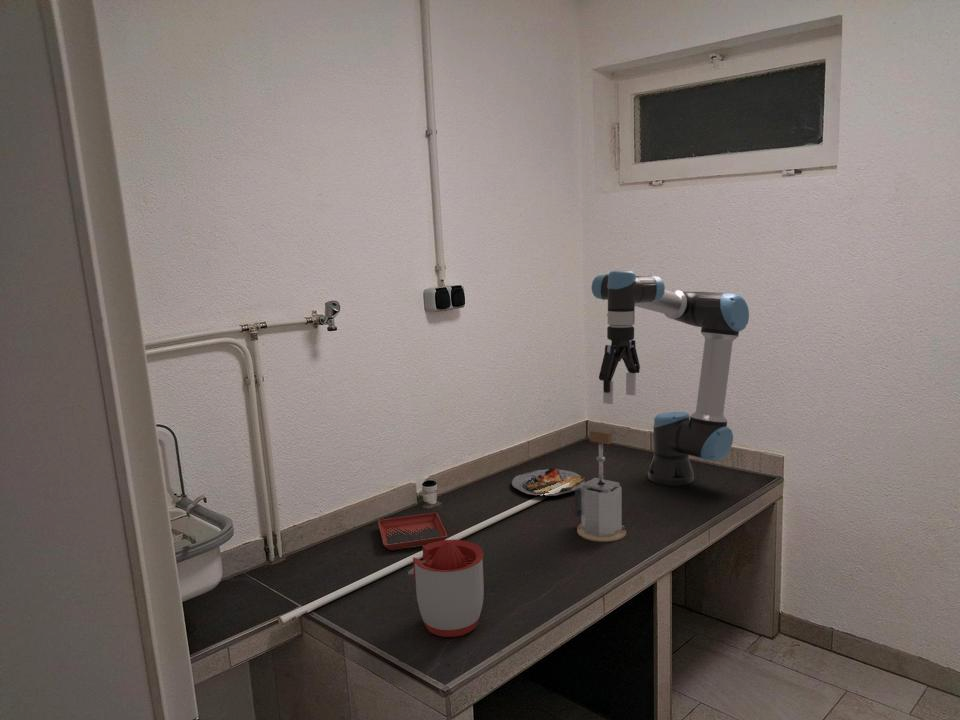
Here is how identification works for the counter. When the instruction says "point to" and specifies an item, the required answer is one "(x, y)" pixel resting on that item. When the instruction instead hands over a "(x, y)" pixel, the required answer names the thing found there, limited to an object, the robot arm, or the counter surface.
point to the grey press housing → (600, 511)
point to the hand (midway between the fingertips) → (619, 399)
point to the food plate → (549, 481)
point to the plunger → (600, 448)
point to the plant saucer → (411, 529)
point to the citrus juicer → (449, 586)
